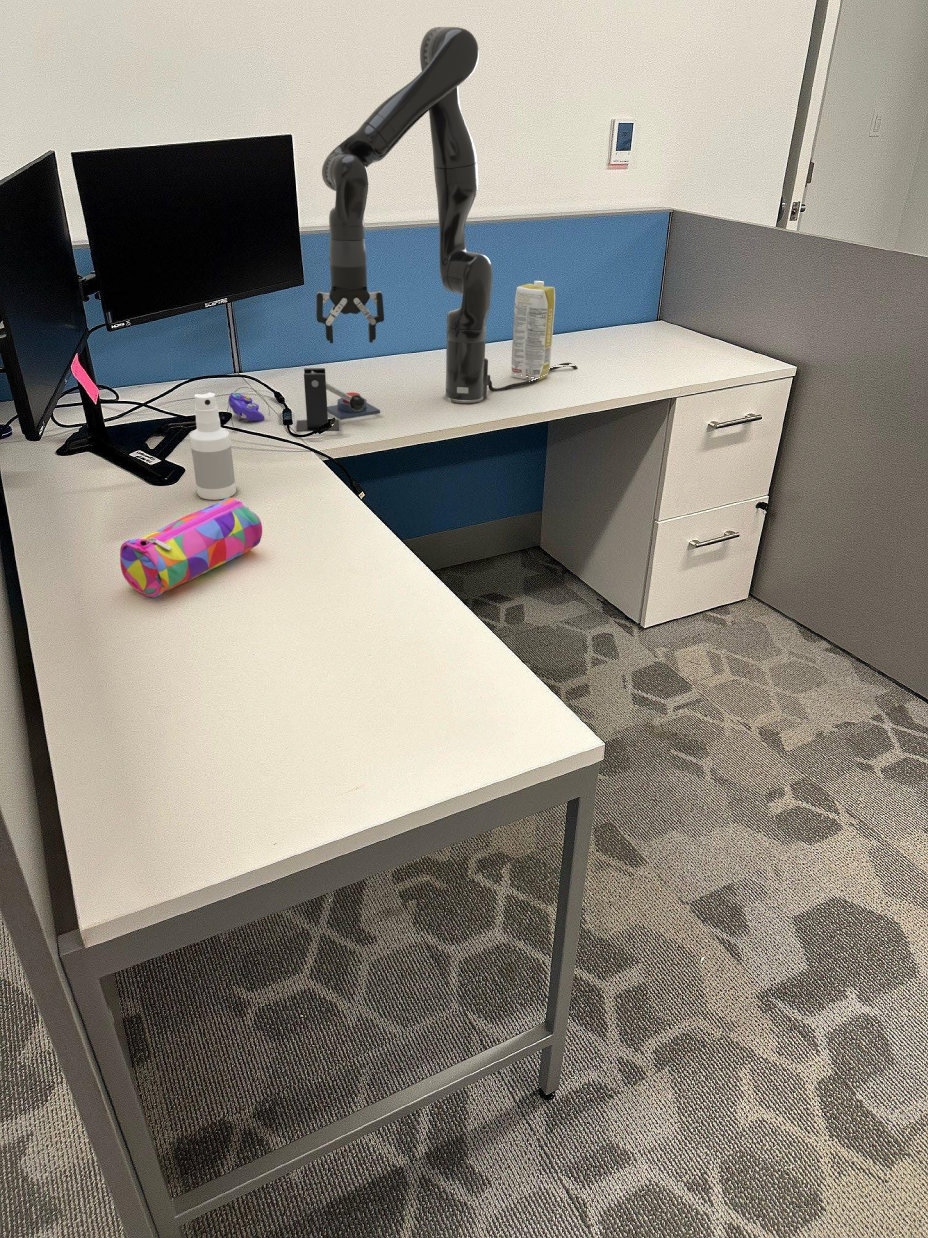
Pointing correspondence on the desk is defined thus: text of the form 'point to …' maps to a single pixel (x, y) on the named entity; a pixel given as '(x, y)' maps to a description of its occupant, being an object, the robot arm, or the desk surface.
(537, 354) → the juice carton
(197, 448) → the spray bottle
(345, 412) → the button box
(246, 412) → the game controller
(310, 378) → the switch bracket
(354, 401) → the switch lever
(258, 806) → the desk surface
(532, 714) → the desk surface
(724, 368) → the desk surface
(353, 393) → the stop button
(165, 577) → the pencil case
